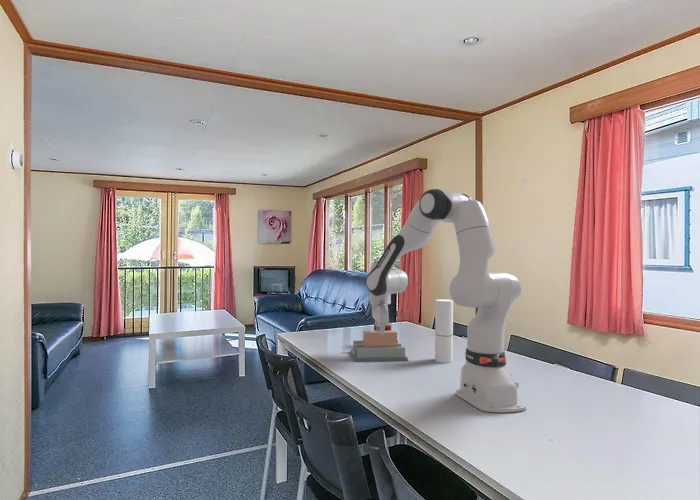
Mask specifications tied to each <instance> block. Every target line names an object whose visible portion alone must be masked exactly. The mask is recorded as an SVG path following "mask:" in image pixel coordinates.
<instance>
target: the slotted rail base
mask: <svg viewBox="0 0 700 500" xmlns="http://www.w3.org/2000/svg"><path fill="white" fill-rule="evenodd" d="M352 344H353V345H352V347H353V348H350V354H351V356H352V359H353V361H354V362H355V363H357V362H358V363H361V362H366V363H367V362H409V358H408V356H407V355H406V347H404V346H402V343H399V340H398V339H397V347H381V348H363V339H362V340H360V339H359V340H356V339H355V340H352Z"/></svg>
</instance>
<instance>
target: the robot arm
mask: <svg viewBox="0 0 700 500" xmlns="http://www.w3.org/2000/svg"><path fill="white" fill-rule="evenodd" d="M439 222H444V223H449V224H450V223H453V225H454V230H455V234H456V239H457V246H458V252H459V266H458V270H457V272H456V275H455V276H454V277H453V278H452V280H451V282H450V284H449V295H450V298H451V300H453V304H456V305H457V306H460V307H465V308H470V309H471V308H472V309H473V308H474V309H476V308H478V309H477V311H476V314H475V316H474V317H472V319H471V320H470V321H469V322H468V324H467V327H466V329H467V332H466V333H467V334H466V335H467V336H466V338H467V341H466V343H467V344H466V348H465V353H464V355H465V360H466V361H465V363H464V365H463V366H461V369H460V370H461V371H460V380H459V389H456V390H455V395H456V397H457V396H458V397H459V398H460V399H462V400H463V401H465V402H467V403H468V404H470V405H471V406H473V407H475V408H477V409H478V410H479V411H483V412H488V413H490V412H491V413H516V412H521V411H522V412H523V411H526V410H527V406H526V404H525V403H524V401H522V400H521V398H520V397H519V396H518V389H519V386H520V385H519V384H520V383H519V382H518V380H514V379H513V377H512V373H511V372H510V370H508V367H507V357H506V353H505V350H504V340H505V339H504V338H505V336H504V335H505V326H506V321H507V318H508V316H509V313H510V310H511V308H512V306H513V305H514V304H515V302H516V301H517V300H518V299H519V298H520V296H521V292H522V286H521V283H520V281H519V279H518V278H517V277H516V276H515V275H513V274H510V273H507V272H503V271H492V272H491V271H489V268H488V266H489V260H490V259H491V258H492V257H493V255H494V254H495V251H496V248H495V242H494V239H493V235H492V230H491V227H490V221H489V218H488V216H487V214H486V211H485V209H484V206H483V205H482V203H481V202H480V201H479V200H477V199H473V198H472V197H471V196H470V195H468V194H465V193H459V192H456V191H453V190H448V189H447V190H446V189H438V188H432V189H428V190H425V191H424V192H423V193H422V195H421V196H420V199H419V200H418V201H417V202H416V203H415V205H414V207H412V209H411V211H410V213H409V215H408V217H407V220H406V221H405V223H404V225H403V226H402V228H400V229H401V230H400V231H399V232H398V233H397V234H396V235H395V236H394V237H393V238H392V239H391V240H390V242H389V243H388V245H387V246H386V247H385V249H384V251H383V253H382V255H381V256H380V258H379V259H378V260H377V261H374V262H372V264H371V266H370V269H369V273H368V274H367V276H366V279H365V281H366V282H365V285H366V288H367V290H368V292H369V304H370V305H371V316H372V318H373V320H374V323H375V324H376V330H377V331H380V335H384V334H385V325H388V323H390V322H389V321H390V319H389V315H390V314H389V307H388V306H389V305H390V304H392V301H391V300H392V299H391V297H392V294H401V293H403V292H405V291H407V290H408V287H409V284H410V283H409V282H410V280H409V275H408V274H407V273H406V271H404V270H402V269H399V268H396V267H395V265H396V263H397V262H398V260H399V259H400V258H401V257H402V256H403V255H406V254H407V253H410V252H412V251H416V250H419V249H422V248H423V247H425V246H426V245H427V244H428V242H429V241H430V240H431V239H432V237H433V234H434V232H435V230H436V227H437V225H438V223H439Z"/></svg>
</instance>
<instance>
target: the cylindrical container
mask: <svg viewBox="0 0 700 500" xmlns="http://www.w3.org/2000/svg"><path fill="white" fill-rule="evenodd" d="M434 312H435V317H434V318H435V322H434V330H435V331H434V333H435V334H434V361H435V362H437V363H443V364H449V363H452V362H453V356H454V355H453V352H454V349H453V346H454V345H453V340H454V301H453V300H452V299H448V298H447V299H444V298H443V299H441V298H440V299H435V311H434Z"/></svg>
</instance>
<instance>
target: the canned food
mask: <svg viewBox="0 0 700 500" xmlns="http://www.w3.org/2000/svg"><path fill="white" fill-rule="evenodd" d="M373 331H377V330H376V324H375V322H374V323H373ZM385 331H392V323H391V322H389V323H388V325H385Z"/></svg>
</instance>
